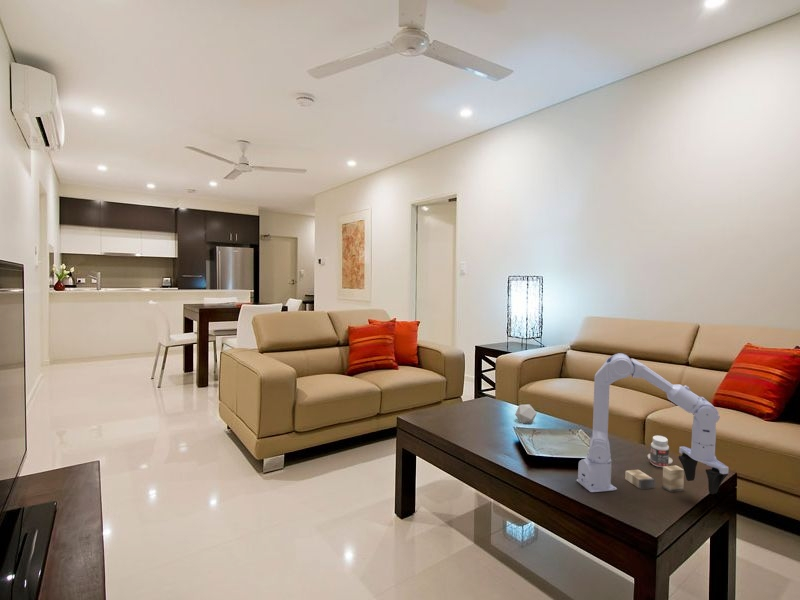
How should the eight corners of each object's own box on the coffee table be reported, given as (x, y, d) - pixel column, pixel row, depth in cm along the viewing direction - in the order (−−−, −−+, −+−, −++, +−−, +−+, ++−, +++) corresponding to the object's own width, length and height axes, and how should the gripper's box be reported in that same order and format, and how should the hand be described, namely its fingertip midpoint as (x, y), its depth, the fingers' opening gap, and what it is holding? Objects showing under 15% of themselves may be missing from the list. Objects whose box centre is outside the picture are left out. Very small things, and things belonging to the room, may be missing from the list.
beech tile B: (669, 492, 131) (670, 470, 131) (662, 487, 134) (663, 466, 134) (683, 490, 132) (684, 469, 132) (675, 486, 135) (676, 465, 135)
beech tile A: (641, 480, 133) (625, 470, 140) (640, 489, 133) (625, 479, 140) (654, 479, 134) (638, 469, 141) (654, 488, 134) (638, 478, 141)
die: (534, 428, 189) (542, 408, 193) (518, 418, 189) (525, 398, 193) (526, 428, 197) (533, 409, 201) (509, 419, 197) (517, 400, 201)
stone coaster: (659, 464, 151) (659, 463, 151) (642, 455, 159) (642, 454, 158) (677, 463, 152) (678, 461, 152) (660, 454, 160) (660, 452, 160)
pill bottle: (659, 469, 147) (660, 443, 146) (646, 461, 153) (647, 436, 151) (672, 466, 149) (673, 440, 147) (658, 458, 154) (659, 433, 153)
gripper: (738, 451, 116) (736, 497, 117) (693, 432, 130) (691, 474, 131) (717, 452, 115) (715, 500, 115) (674, 433, 129) (672, 475, 130)
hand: (701, 486), depth 123 cm, fingers open, 7 cm apart
